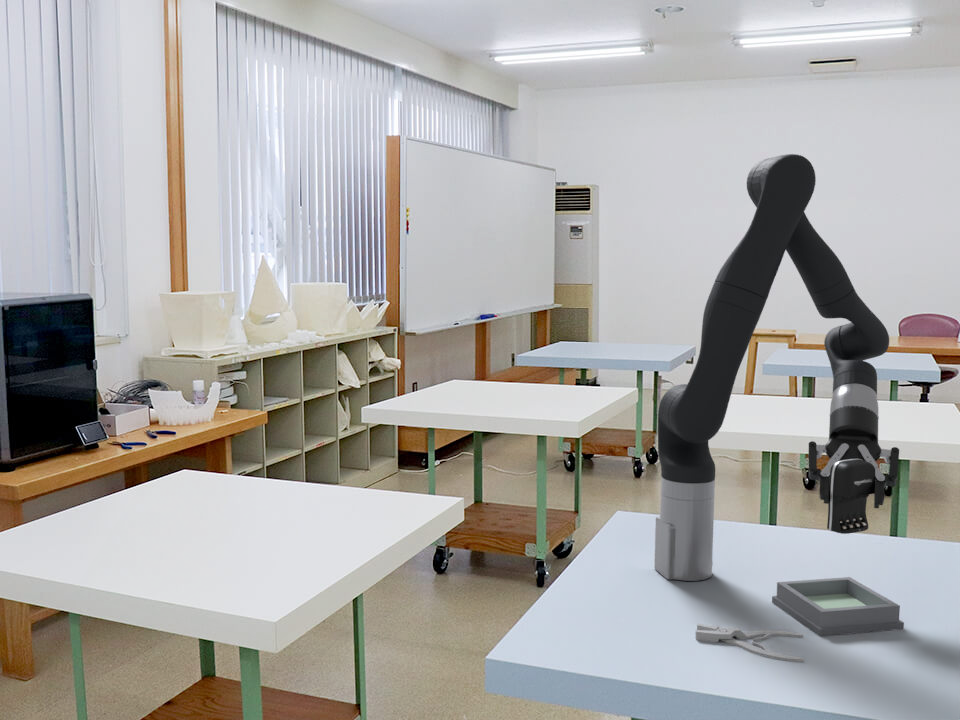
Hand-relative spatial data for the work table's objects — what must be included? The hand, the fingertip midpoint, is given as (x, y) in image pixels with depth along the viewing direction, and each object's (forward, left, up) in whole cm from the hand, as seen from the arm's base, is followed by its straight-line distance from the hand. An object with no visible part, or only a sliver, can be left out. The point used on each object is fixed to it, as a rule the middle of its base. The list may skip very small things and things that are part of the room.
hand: (851, 503), depth 149 cm
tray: (-3, -2, -17) cm, 18 cm away
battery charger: (+1, +1, -5) cm, 5 cm away
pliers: (-21, -8, -18) cm, 29 cm away
